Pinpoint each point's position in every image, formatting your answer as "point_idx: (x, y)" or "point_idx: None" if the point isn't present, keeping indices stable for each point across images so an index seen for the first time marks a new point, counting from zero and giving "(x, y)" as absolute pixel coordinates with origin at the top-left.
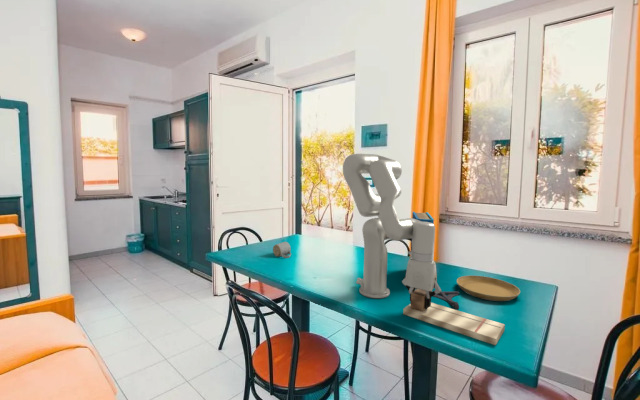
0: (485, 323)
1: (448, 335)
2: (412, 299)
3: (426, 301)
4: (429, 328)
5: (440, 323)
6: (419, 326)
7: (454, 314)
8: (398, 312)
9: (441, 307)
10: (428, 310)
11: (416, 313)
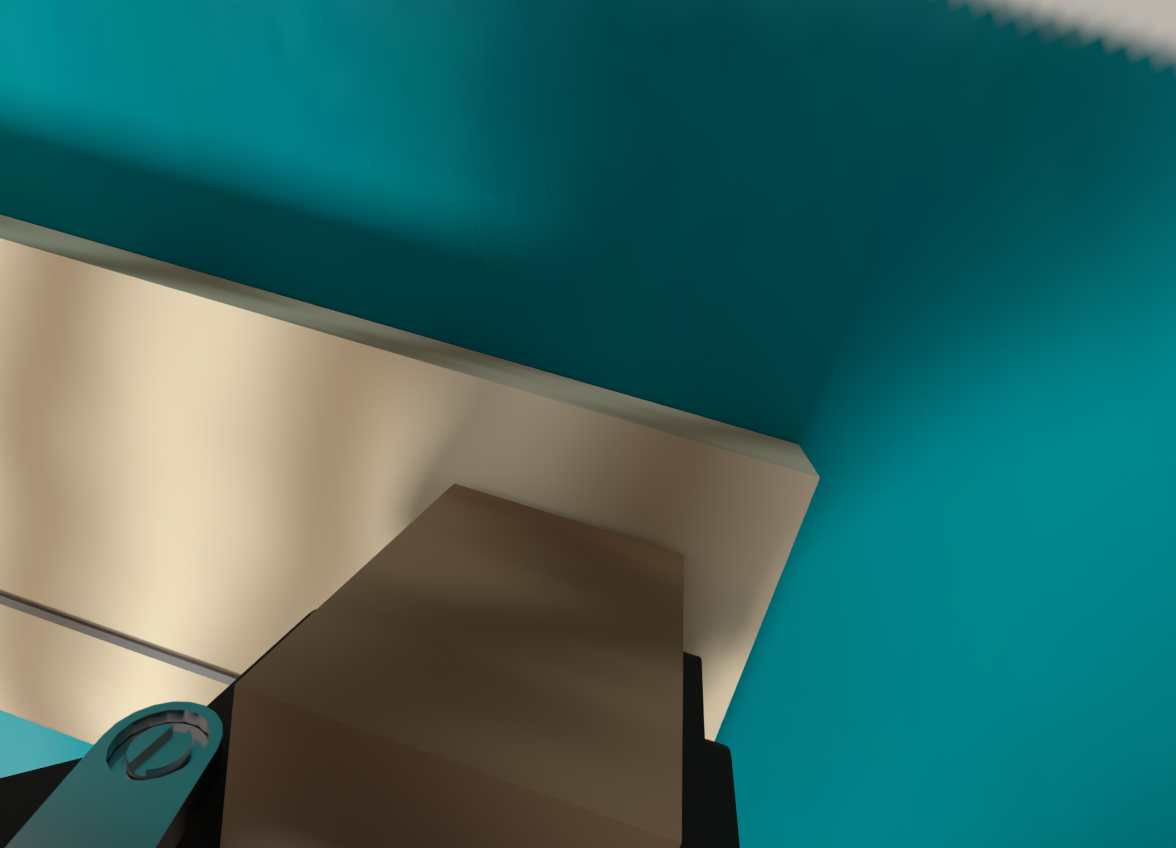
0: None
1: (52, 47)
2: (638, 659)
3: None
4: (319, 127)
5: (166, 273)
6: (467, 111)
7: (48, 594)
8: (888, 474)
9: None
10: None
11: (547, 394)
